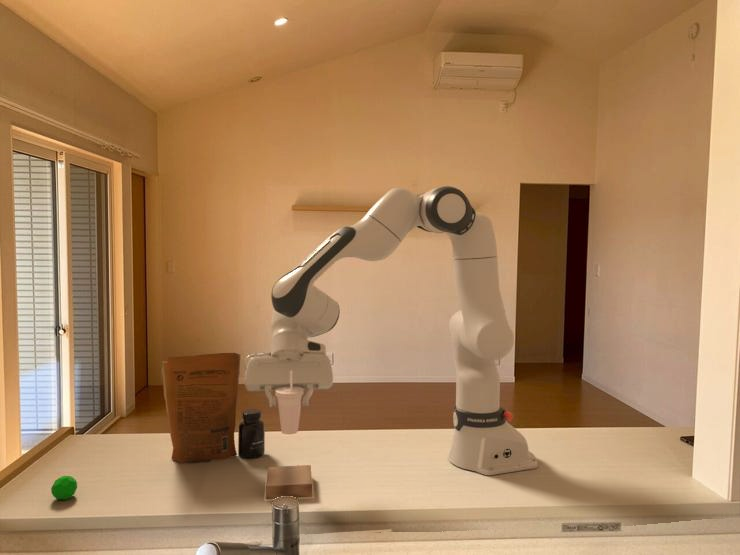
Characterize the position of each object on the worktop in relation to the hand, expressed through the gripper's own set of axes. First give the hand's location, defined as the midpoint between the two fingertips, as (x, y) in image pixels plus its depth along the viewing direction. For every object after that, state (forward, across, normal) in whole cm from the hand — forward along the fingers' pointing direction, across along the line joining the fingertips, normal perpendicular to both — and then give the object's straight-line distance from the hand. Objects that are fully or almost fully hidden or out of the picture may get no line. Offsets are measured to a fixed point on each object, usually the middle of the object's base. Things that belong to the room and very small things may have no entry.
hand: (289, 405), depth 125 cm
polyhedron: (+12, -49, +16) cm, 53 cm away
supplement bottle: (-1, -10, +30) cm, 31 cm away
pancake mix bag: (0, -22, +29) cm, 36 cm away
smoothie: (+4, 0, +5) cm, 7 cm away
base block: (+13, 0, +14) cm, 20 cm away
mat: (+14, -1, +14) cm, 20 cm away
